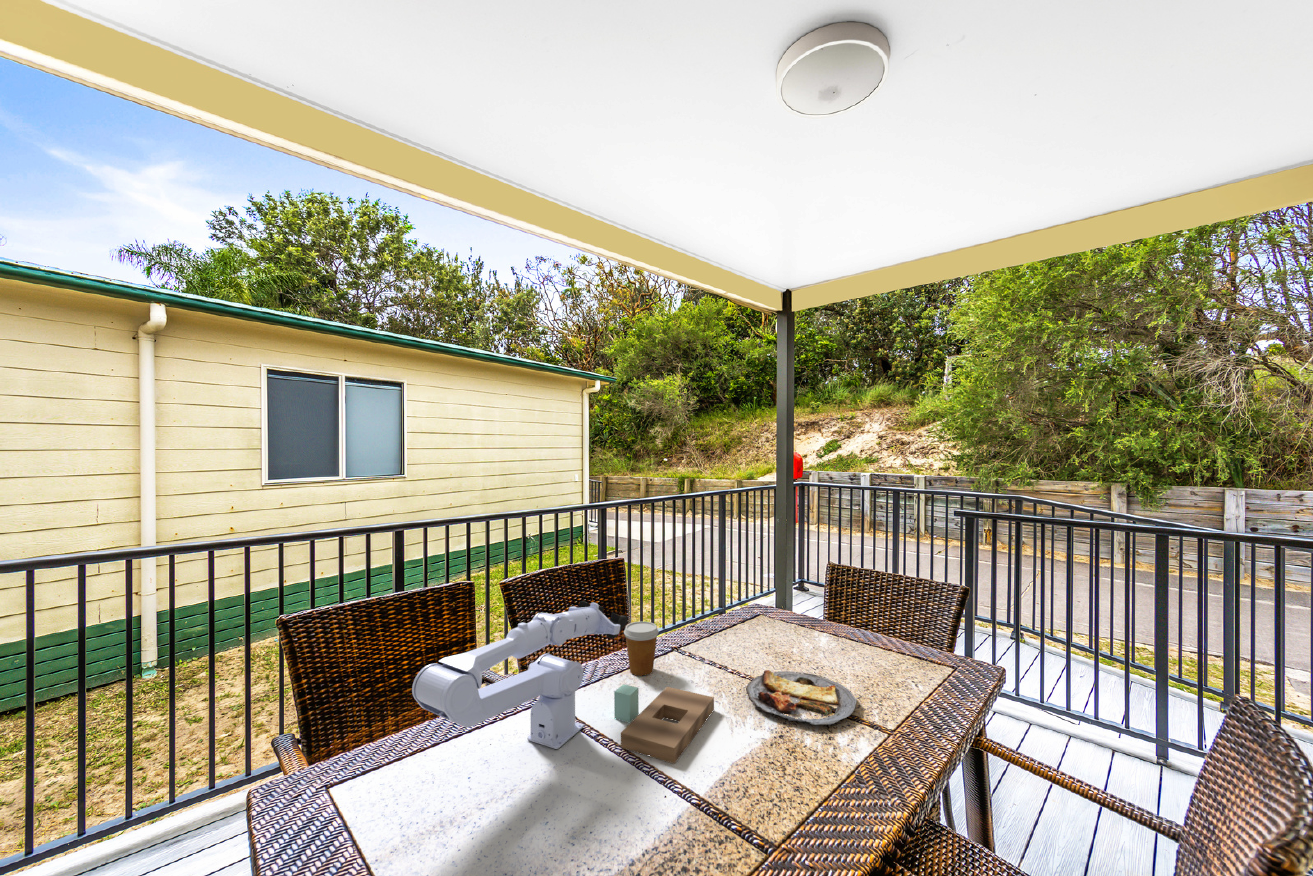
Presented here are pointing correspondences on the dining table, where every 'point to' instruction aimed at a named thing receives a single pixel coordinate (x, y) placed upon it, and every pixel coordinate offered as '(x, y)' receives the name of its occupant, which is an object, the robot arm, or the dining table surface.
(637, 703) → the teal block
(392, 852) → the dining table surface
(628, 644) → the disposable coffee cup
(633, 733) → the well board
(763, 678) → the food plate
